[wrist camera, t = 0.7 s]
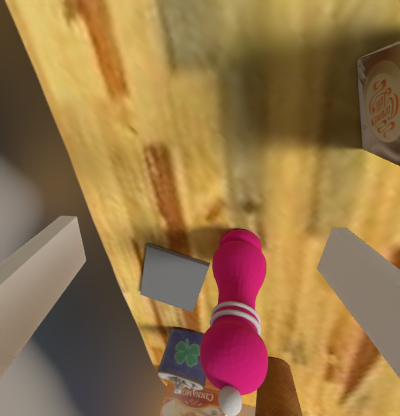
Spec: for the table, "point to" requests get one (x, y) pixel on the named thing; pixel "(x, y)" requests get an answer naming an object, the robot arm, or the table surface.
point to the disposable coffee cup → (277, 392)
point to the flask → (183, 360)
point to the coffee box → (380, 102)
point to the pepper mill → (236, 321)
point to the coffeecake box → (191, 401)
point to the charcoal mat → (172, 277)
